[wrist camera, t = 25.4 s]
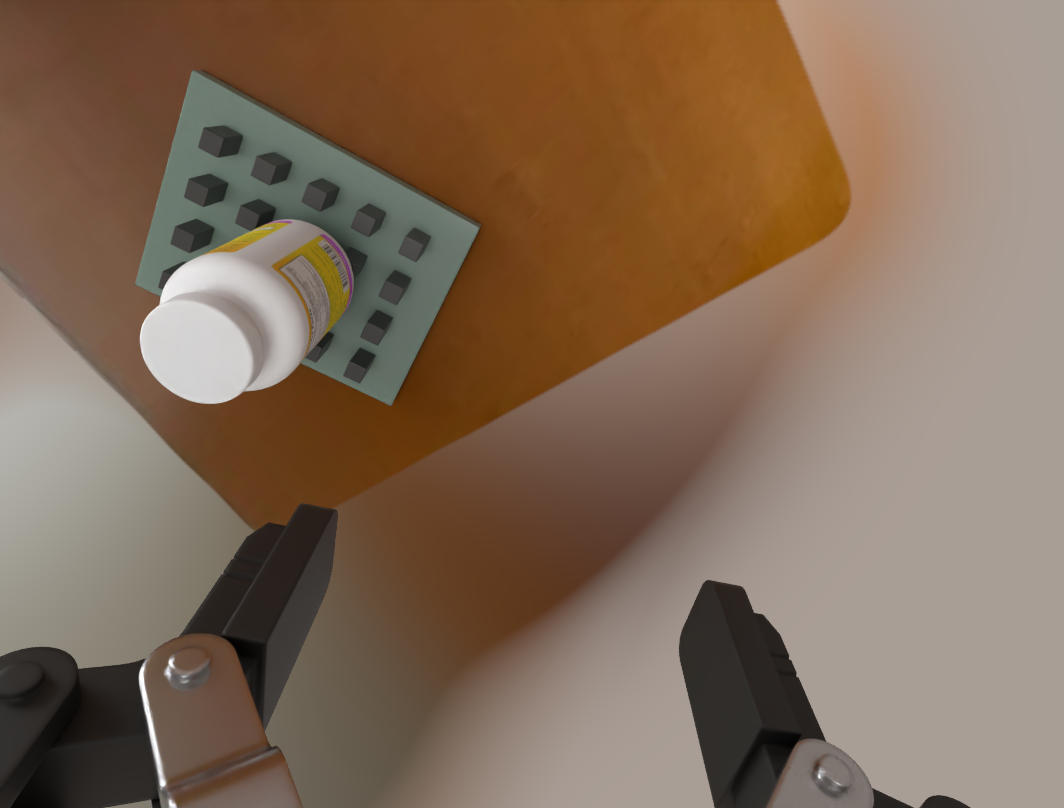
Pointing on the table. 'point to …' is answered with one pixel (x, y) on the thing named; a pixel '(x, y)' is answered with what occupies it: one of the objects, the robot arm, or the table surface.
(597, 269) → the table surface
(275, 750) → the robot arm
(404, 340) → the board
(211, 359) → the supplement bottle
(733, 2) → the table surface
